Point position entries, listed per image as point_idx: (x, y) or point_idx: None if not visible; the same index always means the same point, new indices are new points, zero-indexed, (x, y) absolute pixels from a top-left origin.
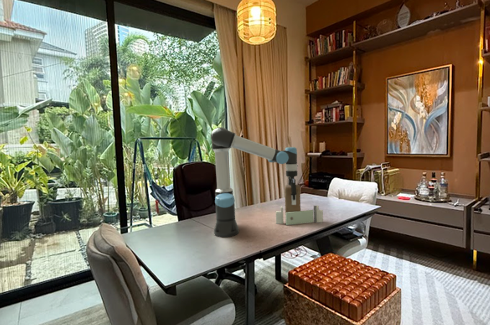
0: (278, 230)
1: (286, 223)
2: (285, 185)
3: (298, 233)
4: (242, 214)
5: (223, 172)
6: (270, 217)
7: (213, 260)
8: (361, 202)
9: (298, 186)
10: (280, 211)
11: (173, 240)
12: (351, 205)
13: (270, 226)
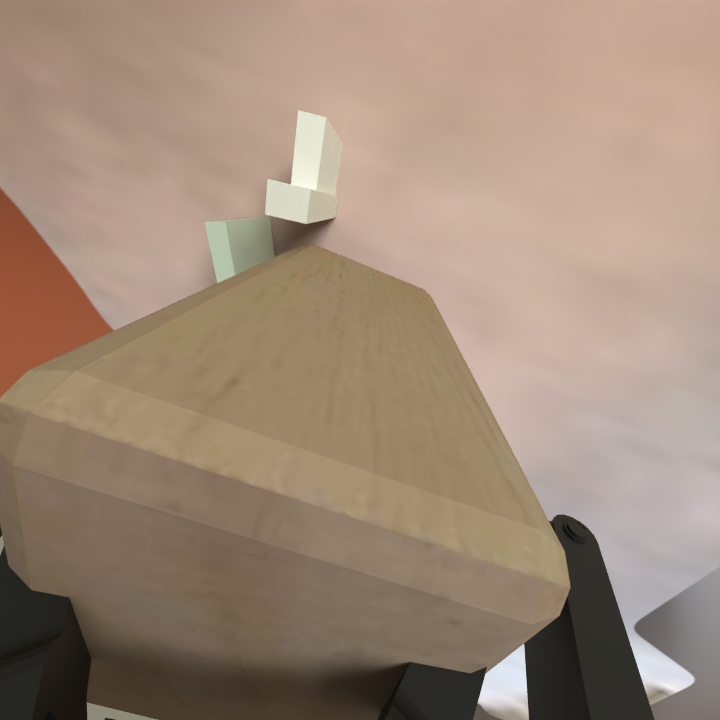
0: (140, 95)
1: (249, 218)
2: (484, 568)
3: (73, 237)
4: None
5: None
6: (544, 150)
7: None
8: (523, 702)
9: (101, 705)
10: (307, 185)
11: None
12: (502, 663)
13: (260, 46)
